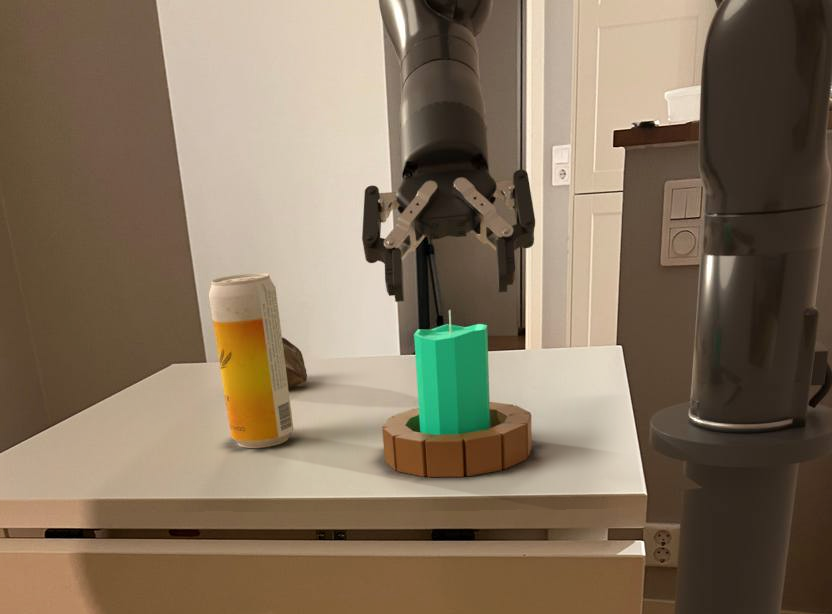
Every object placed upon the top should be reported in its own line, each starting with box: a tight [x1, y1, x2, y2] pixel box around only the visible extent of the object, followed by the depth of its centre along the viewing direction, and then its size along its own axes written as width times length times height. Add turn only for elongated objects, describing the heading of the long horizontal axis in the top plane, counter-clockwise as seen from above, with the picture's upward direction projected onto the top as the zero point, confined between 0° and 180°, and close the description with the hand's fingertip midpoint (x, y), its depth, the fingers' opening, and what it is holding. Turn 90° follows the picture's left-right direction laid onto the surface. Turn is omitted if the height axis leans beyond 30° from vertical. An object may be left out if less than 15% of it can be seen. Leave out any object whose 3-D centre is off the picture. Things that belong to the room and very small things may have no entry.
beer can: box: [208, 272, 294, 449], centre depth 89 cm, size 6×6×15 cm
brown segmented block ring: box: [381, 401, 533, 478], centre depth 82 cm, size 12×12×3 cm
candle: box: [413, 309, 490, 435], centre depth 80 cm, size 6×6×12 cm
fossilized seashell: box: [282, 336, 308, 389], centre depth 113 cm, size 8×7×10 cm
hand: (450, 290), depth 78 cm, fingers open, 8 cm apart
